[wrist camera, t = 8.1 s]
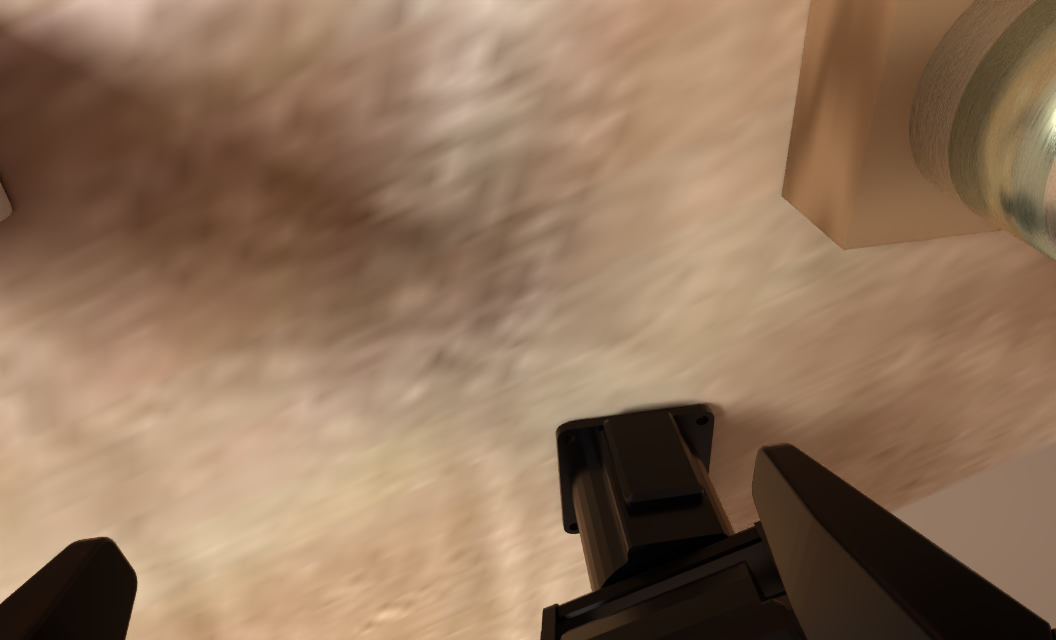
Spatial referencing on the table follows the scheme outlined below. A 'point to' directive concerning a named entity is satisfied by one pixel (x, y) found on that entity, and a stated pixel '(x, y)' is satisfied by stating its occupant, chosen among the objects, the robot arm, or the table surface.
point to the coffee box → (4, 205)
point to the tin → (994, 117)
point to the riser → (868, 124)
